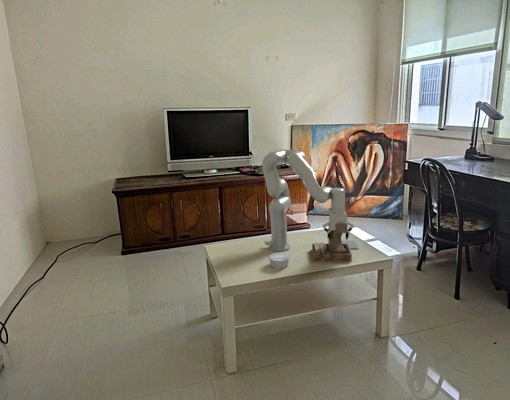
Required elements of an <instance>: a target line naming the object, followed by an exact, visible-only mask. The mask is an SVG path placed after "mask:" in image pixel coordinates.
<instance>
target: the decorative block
mask: <svg viewBox="0 0 510 400" xmlns="http://www.w3.org/2000/svg"><path fill="white" fill-rule="evenodd" d="M347 229H348V228H347V224H335V231H332V230H331V231H330V240H329V239H328V243H327V244H328V250H327V252H328V254H347V250H346V249H345V248H344V246H343V244H342V241H343V240H342V235H343V234H346V233H347Z"/></svg>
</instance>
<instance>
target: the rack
mask: <svg viewBox="0 0 510 400" xmlns="http://www.w3.org/2000/svg"><path fill="white" fill-rule="evenodd" d="M324 245H325V254H315V243H311V252H312V261H313V262H352V259H353V258H352V257H353V255H352V251H351V249H349V246H348V244H343V246H344V248H345V249H346V250H347V254H330V253H328V243H324ZM319 247H320V243H319Z"/></svg>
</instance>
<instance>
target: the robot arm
mask: <svg viewBox="0 0 510 400" xmlns="http://www.w3.org/2000/svg"><path fill="white" fill-rule="evenodd" d="M306 160H307V157H306V153H304V152H303V151H300V150H294V149H284V148H283V149H281V148H280V149H277V150H273V151H270V152H269V153H267V154H266V155H265V156H264V158H263V159H262V162H261V167H262V172H263V177H264V181H265V187H266V190H267V193H268V195H269V196H271V197H274V199H272V200H271V201H270V203H269V207H268V209H269V210H268V211H269V214H270V215H269V216H270V228H271V229H270V231H271V235H270V237H271V240H264V245H266V246H268V248H269V250H271V251H273V252H284V251H288V250H289V249H290V246H291V245H290V244H288V232H287V231H288V230H287V229H288V227H287V226H288V223H287V216H286V211H287V210H288V209H289V208H290V207H291V204H292V200H291V199H292V198H291V193H290V190H289V187H288V183H287V181H286V180H285V179H284V178H281V177H280V176H279V175H280V174H279V171H278V169H277V166H278V165H281V164H286V165H289V167H290V168H291V169H292V171H294V172H295V174H296V175H297V176H298V177H299V178H300V180H301V181H302V183H303V186H304V188H305V189H306V191H307V192H308V194H309V195H310V196H311V197H312V199H313V200H315V201H316V202H317V203H319V204H325V203H326V202H328V201H329V200H330V207H329V208H328V211H330V212H329V217H328V222H326V223H324V224H322V228H323V231H325V232H326V233H327V235H326V236H327V239H328V241H329V240H330V231H331V230H332V231H335V224H347V233H345V240H346V241H349V240H348V239H349V235H350V234H349V233H350V232H352V230H353V228H354V226H355V225H354V224H353V223H351V222H349V221H348V214H347V212H346V190H345V189H344V188H342V187H330V186H323V187H321V186H320V184H319V183H318V181H317V180H316V176H315V170H314V169H313V168H312V167H311V166H310V165H309V163H308V162H307V161H306ZM327 226H328V228H327ZM348 226H349V228H348Z"/></svg>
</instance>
